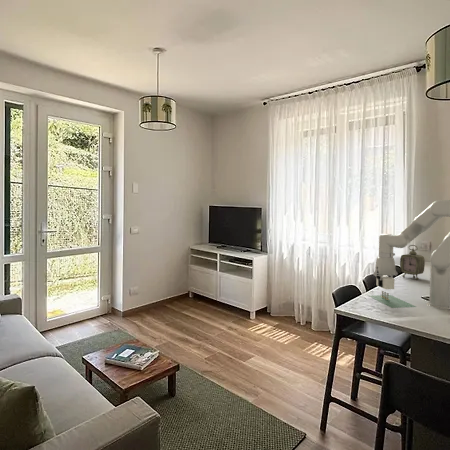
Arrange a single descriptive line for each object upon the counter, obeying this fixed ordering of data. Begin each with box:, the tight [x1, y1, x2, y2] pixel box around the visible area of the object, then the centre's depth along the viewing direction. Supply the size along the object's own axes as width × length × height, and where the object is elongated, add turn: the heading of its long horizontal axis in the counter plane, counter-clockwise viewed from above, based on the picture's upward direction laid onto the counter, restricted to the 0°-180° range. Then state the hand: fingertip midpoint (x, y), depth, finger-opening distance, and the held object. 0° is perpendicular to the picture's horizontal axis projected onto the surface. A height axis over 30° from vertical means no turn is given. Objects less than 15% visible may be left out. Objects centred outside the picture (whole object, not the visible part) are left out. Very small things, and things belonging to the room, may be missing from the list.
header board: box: [369, 290, 417, 309], centre depth 195 cm, size 14×24×5 cm, turn 6°
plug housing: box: [375, 275, 395, 290], centre depth 201 cm, size 5×10×6 cm, turn 6°
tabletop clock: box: [399, 244, 426, 281], centre depth 257 cm, size 14×9×25 cm, turn 28°
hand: (385, 286), depth 201 cm, fingers closed on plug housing, 4 cm apart
